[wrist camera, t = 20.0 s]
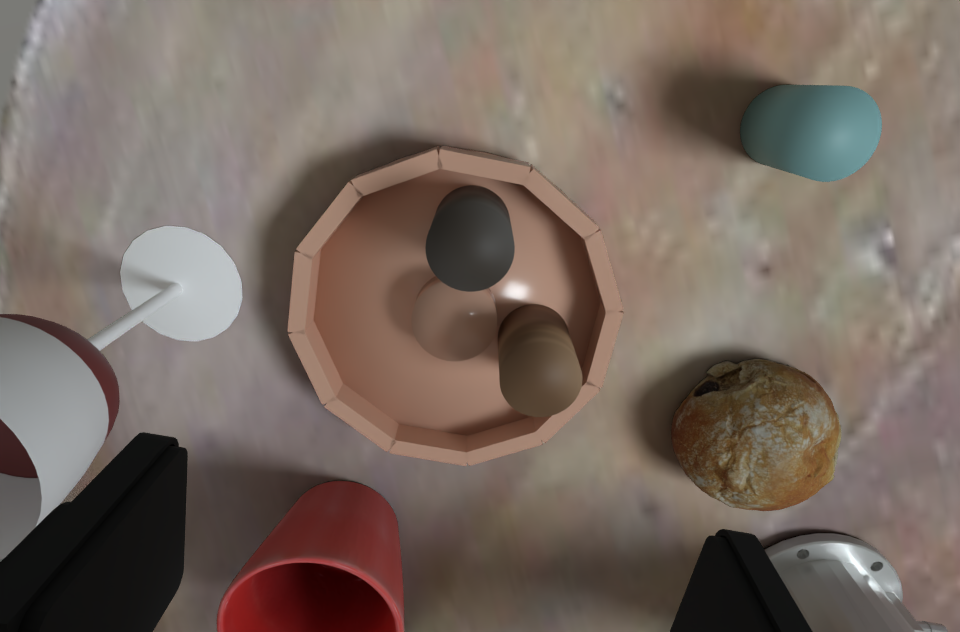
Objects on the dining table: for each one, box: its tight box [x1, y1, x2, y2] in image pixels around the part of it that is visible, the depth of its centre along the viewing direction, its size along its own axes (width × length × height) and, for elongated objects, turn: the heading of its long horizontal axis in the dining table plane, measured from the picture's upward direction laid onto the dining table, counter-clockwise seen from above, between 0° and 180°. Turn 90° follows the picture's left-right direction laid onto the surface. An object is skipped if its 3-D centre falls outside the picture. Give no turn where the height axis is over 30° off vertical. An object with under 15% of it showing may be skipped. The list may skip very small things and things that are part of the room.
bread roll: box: [671, 359, 841, 511], centre depth 40 cm, size 10×10×8 cm
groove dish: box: [287, 145, 624, 466], centre depth 38 cm, size 19×19×3 cm
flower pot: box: [217, 481, 404, 632], centre depth 41 cm, size 11×11×10 cm
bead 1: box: [425, 185, 515, 292], centre depth 34 cm, size 4×4×6 cm
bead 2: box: [498, 304, 582, 417], centre depth 36 cm, size 4×4×6 cm
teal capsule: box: [740, 85, 882, 182], centre depth 33 cm, size 4×4×6 cm
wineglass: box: [0, 226, 243, 559], centre depth 30 cm, size 8×9×20 cm
